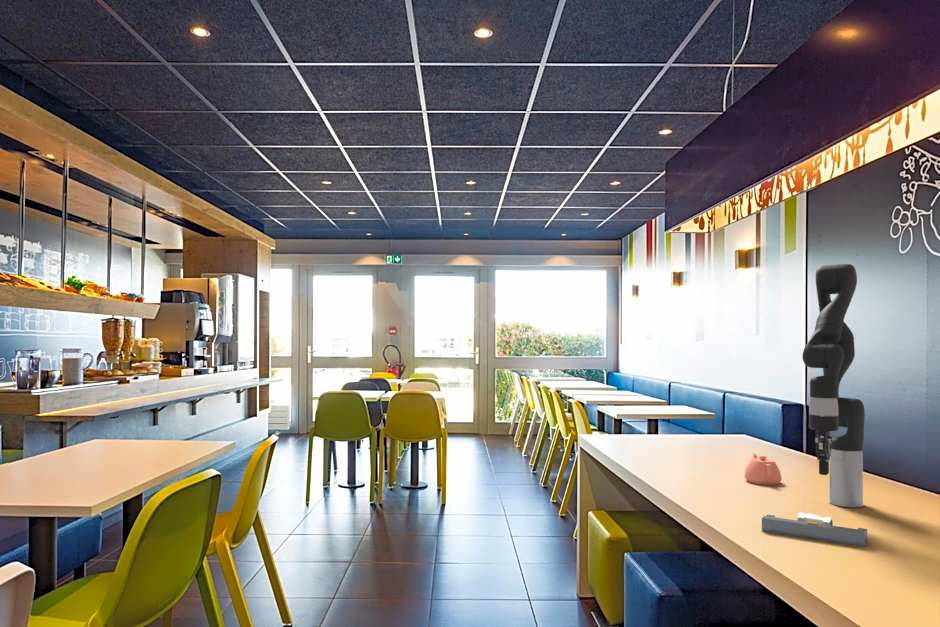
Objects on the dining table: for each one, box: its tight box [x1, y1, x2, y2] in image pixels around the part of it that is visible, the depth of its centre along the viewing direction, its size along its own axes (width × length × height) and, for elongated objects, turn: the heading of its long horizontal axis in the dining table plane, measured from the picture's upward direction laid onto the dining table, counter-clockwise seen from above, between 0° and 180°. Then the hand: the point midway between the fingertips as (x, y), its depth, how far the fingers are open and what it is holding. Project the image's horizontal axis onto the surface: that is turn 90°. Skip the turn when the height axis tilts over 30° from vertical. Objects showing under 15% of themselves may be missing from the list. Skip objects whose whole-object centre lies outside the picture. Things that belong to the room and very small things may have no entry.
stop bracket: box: [761, 514, 868, 548], centre depth 180 cm, size 7×24×4 cm, turn 56°
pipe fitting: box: [796, 512, 834, 526], centre depth 188 cm, size 8×4×7 cm
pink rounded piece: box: [744, 452, 782, 486], centre depth 249 cm, size 12×18×10 cm
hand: (824, 473), depth 197 cm, fingers closed
